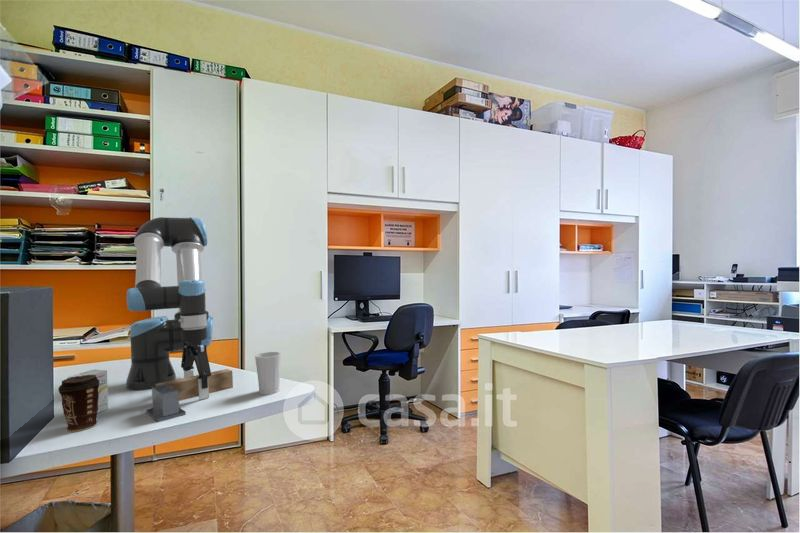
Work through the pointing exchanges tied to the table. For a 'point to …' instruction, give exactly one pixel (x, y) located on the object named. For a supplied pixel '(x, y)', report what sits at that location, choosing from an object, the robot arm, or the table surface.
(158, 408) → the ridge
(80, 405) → the coffee cup
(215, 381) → the walnut beam
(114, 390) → the table surface
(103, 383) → the ink box
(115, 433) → the table surface
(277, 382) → the cup
